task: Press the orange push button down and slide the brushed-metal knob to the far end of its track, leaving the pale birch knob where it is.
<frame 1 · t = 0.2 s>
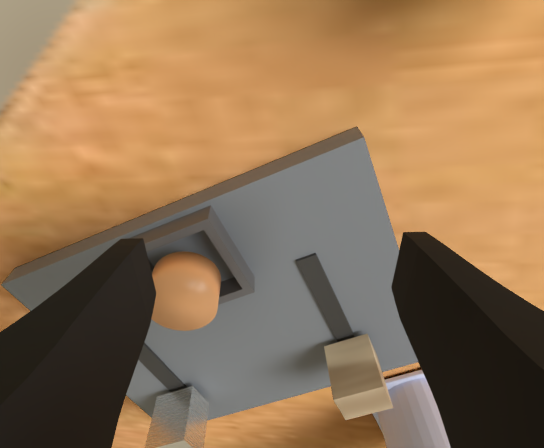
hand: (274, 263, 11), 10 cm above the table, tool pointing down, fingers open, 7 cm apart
birch slider: (356, 375, 24), point 4 cm above the table, slide at 0.0 cm
control board: (239, 308, 26), on the table
metal slider: (178, 425, 26), point 4 cm above the table, slide at 0.0 cm
orange button: (184, 291, 19), point 4 cm above the table, slide at 0.0 cm
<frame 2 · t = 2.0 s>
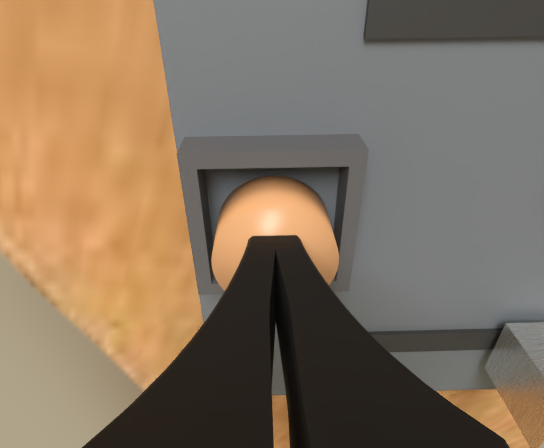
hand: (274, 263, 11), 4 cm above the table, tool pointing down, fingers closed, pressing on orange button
control board: (427, 186, 14), on the table
orange button: (274, 243, 11), point 3 cm above the table, slide at 0.6 cm, touching gripper
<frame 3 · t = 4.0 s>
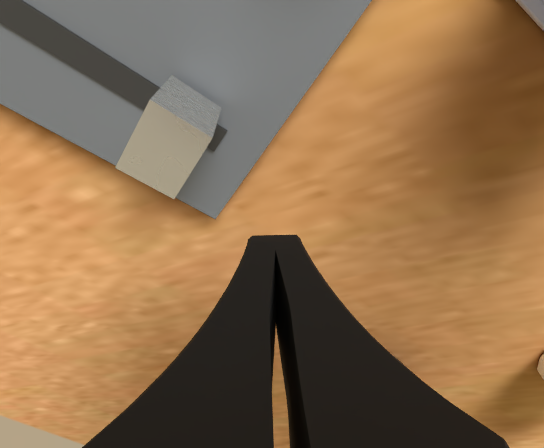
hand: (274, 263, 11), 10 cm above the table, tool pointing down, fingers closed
metal slider: (172, 135, 15), point 4 cm above the table, slide at 0.0 cm
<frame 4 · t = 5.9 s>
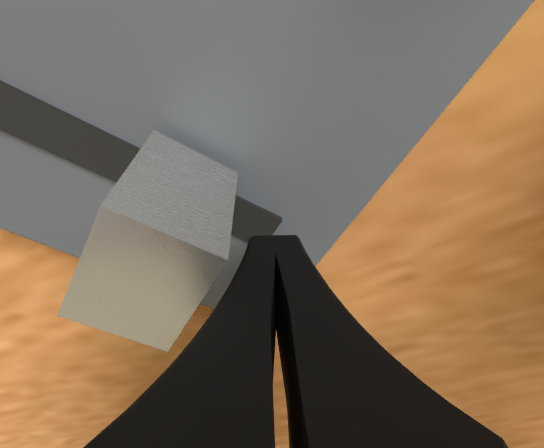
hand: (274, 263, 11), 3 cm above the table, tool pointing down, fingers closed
metal slider: (160, 234, 9), point 4 cm above the table, slide at 1.2 cm, touching gripper
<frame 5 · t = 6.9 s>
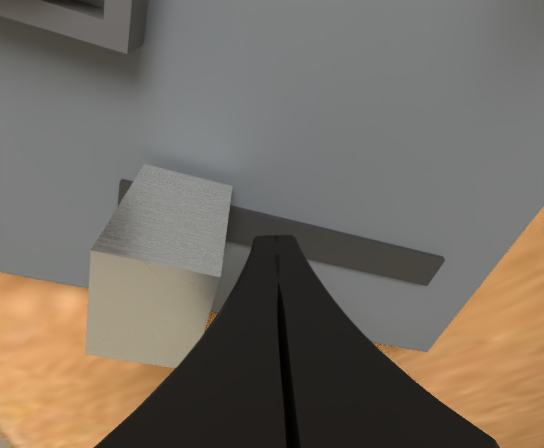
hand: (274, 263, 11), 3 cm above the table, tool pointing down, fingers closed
metal slider: (167, 260, 9), point 4 cm above the table, slide at 6.6 cm, touching gripper
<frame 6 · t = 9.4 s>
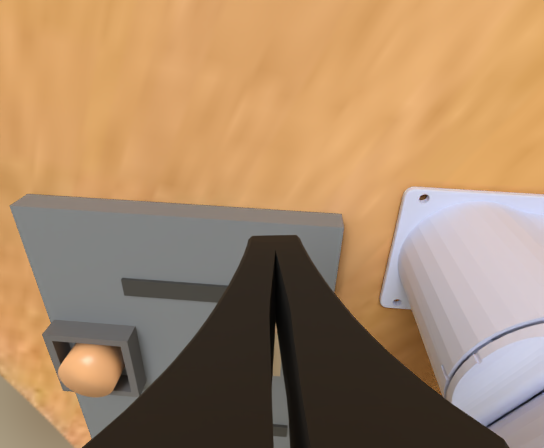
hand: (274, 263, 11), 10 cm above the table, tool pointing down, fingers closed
birch slider: (260, 325, 20), point 4 cm above the table, slide at 0.0 cm
control board: (194, 342, 27), on the table
orange button: (94, 366, 25), point 3 cm above the table, slide at 1.4 cm
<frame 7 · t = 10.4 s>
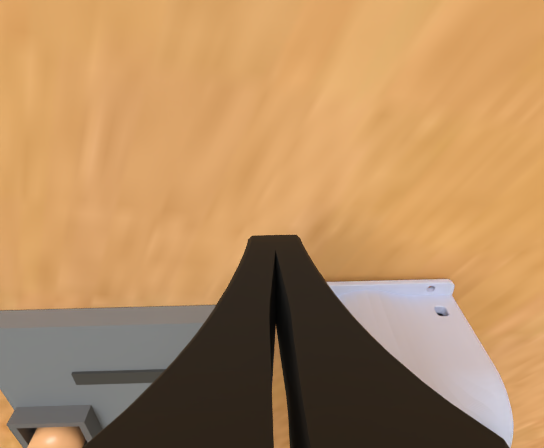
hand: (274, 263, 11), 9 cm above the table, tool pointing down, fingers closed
control board: (148, 405, 30), on the table
orange button: (58, 441, 28), point 3 cm above the table, slide at 1.4 cm
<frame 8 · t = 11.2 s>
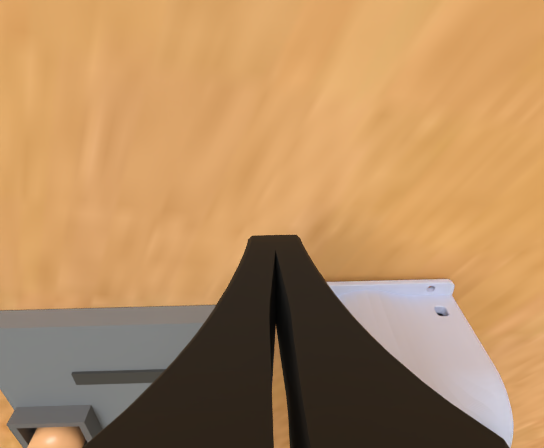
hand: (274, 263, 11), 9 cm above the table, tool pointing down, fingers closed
control board: (148, 405, 30), on the table
orange button: (58, 441, 28), point 3 cm above the table, slide at 1.4 cm
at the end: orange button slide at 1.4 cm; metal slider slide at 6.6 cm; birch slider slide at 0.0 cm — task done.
